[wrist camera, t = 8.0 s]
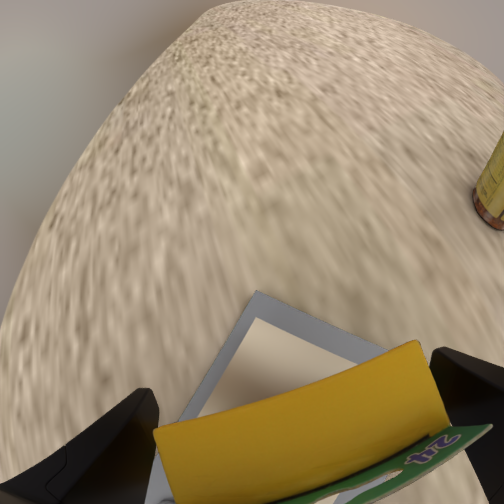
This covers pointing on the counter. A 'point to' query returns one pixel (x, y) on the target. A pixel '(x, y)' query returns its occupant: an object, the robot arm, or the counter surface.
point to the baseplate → (259, 306)
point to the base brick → (271, 370)
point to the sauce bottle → (492, 189)
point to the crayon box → (318, 438)
